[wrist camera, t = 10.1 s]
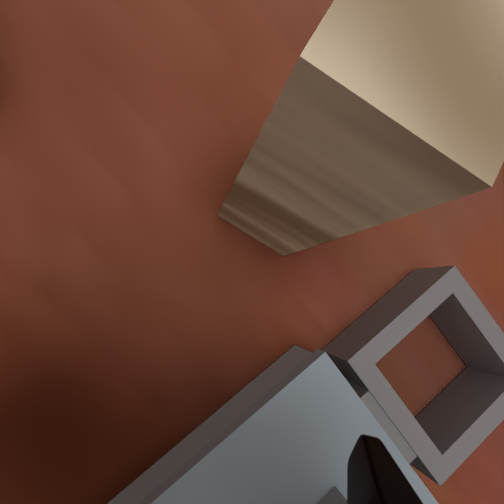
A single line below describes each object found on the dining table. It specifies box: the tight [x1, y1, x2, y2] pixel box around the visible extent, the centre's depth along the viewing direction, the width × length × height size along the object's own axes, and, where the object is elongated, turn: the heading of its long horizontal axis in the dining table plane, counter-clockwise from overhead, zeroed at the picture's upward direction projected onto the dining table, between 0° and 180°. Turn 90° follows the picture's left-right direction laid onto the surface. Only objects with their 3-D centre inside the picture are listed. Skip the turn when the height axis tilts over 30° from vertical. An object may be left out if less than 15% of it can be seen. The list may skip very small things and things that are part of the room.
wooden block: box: [217, 0, 504, 256], centre depth 15 cm, size 4×4×15 cm
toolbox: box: [107, 266, 504, 504], centre depth 18 cm, size 23×10×6 cm, turn 128°
